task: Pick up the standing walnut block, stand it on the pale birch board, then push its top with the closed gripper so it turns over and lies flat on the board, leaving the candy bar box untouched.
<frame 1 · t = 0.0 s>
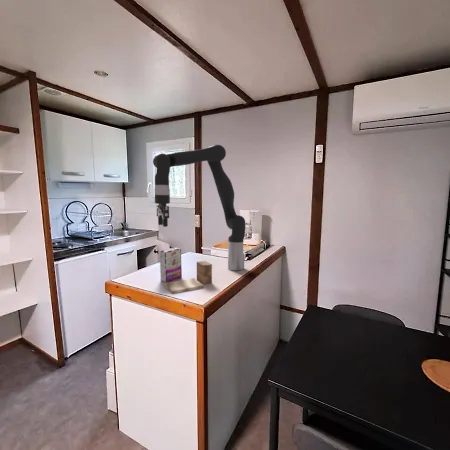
hand: (162, 225, 132), 29 cm above the kitchen counter, fingers open, 8 cm apart
walnut block: (204, 281, 135), on the kitchen counter
candy bar box: (171, 279, 138), on the kitchen counter
birch board: (183, 286, 127), on the kitchen counter
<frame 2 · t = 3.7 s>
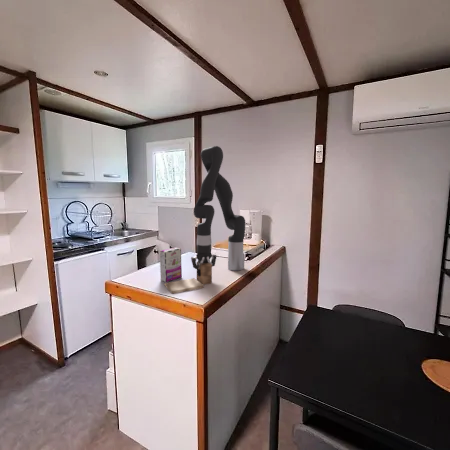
hand: (204, 275, 134), 3 cm above the kitchen counter, fingers closed on walnut block, 5 cm apart
walnut block: (204, 281, 135), on the kitchen counter, touching gripper
everything else where it was.
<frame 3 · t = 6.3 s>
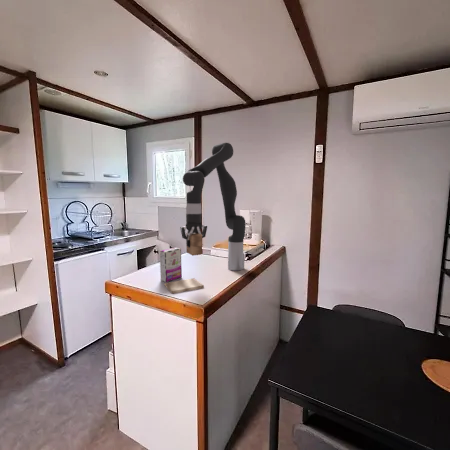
hand: (194, 246, 127), 20 cm above the kitchen counter, fingers closed on walnut block, 5 cm apart
walnut block: (194, 253, 128), point 16 cm above the kitchen counter, touching gripper
everything else where it was.
when the fingers open (5 cm above the kitchen counter, at t = 9.2 s): walnut block stays where it is, resting on birch board.
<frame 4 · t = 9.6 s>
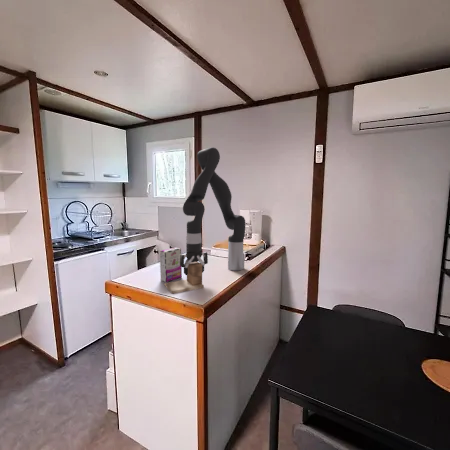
hand: (194, 273, 129), 6 cm above the kitchen counter, fingers open, 8 cm apart
walnut block: (194, 282, 130), point 1 cm above the kitchen counter, touching birch board
everything else where it was.
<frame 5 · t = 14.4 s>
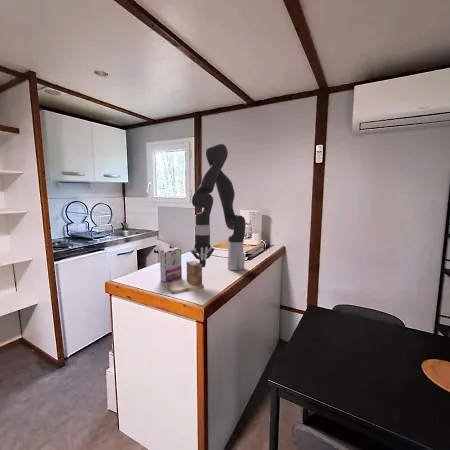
hand: (202, 266, 131), 9 cm above the kitchen counter, fingers closed
walnut block: (194, 282, 130), point 1 cm above the kitchen counter, touching birch board, gripper
everything else where it was.
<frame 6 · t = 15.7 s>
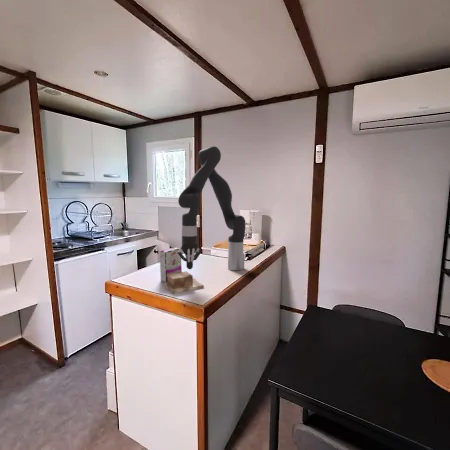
hand: (189, 268, 127), 9 cm above the kitchen counter, fingers closed
walnut block: (189, 278, 128), point 4 cm above the kitchen counter, tilted 90°, touching birch board
everything else where it was.
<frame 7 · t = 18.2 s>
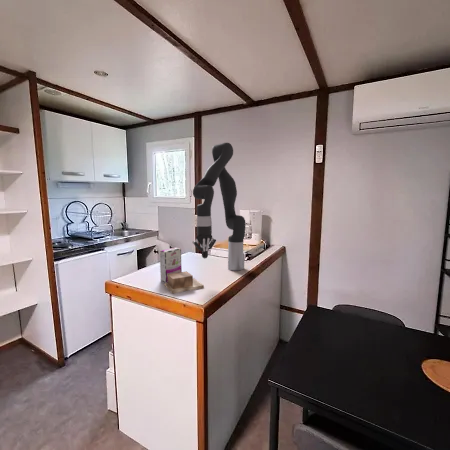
hand: (204, 258, 132), 13 cm above the kitchen counter, fingers closed
nothing on the kitchen counter moved.
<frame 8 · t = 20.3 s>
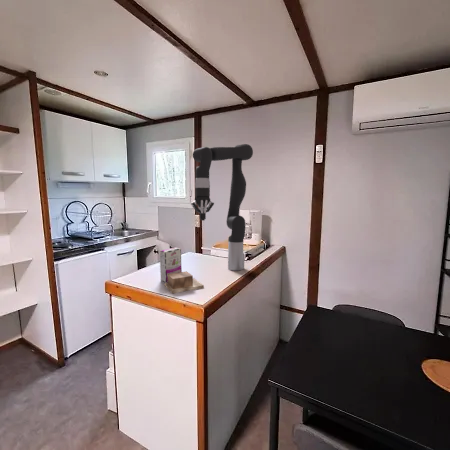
hand: (202, 220, 135), 32 cm above the kitchen counter, fingers closed
nothing on the kitchen counter moved.
at the end: walnut block tilted 90°; walnut block inside the target area (4.6 cm from its centre), point 3.7 cm above the kitchen counter; the gripper is holding nothing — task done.
